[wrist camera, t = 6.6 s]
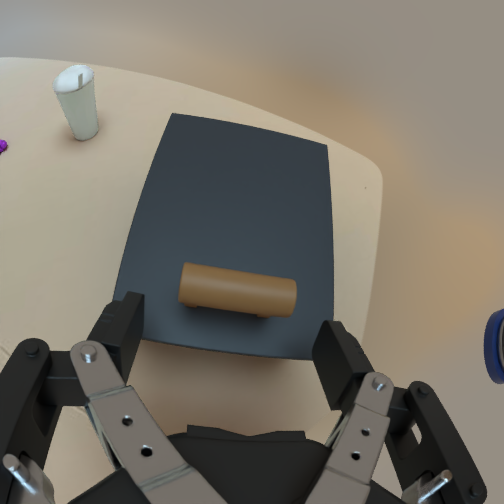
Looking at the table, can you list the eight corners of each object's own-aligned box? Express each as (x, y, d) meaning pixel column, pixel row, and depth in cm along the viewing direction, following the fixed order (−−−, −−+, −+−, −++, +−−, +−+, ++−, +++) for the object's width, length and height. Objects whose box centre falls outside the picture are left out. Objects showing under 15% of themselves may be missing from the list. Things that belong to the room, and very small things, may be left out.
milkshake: (80, 155, 28) (58, 86, 19) (64, 132, 28) (44, 68, 19) (113, 134, 29) (101, 64, 20) (94, 113, 30) (82, 49, 21)
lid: (326, 361, 17) (372, 354, 12) (109, 332, 15) (80, 316, 10) (323, 150, 24) (349, 109, 19) (171, 119, 22) (173, 70, 17)
